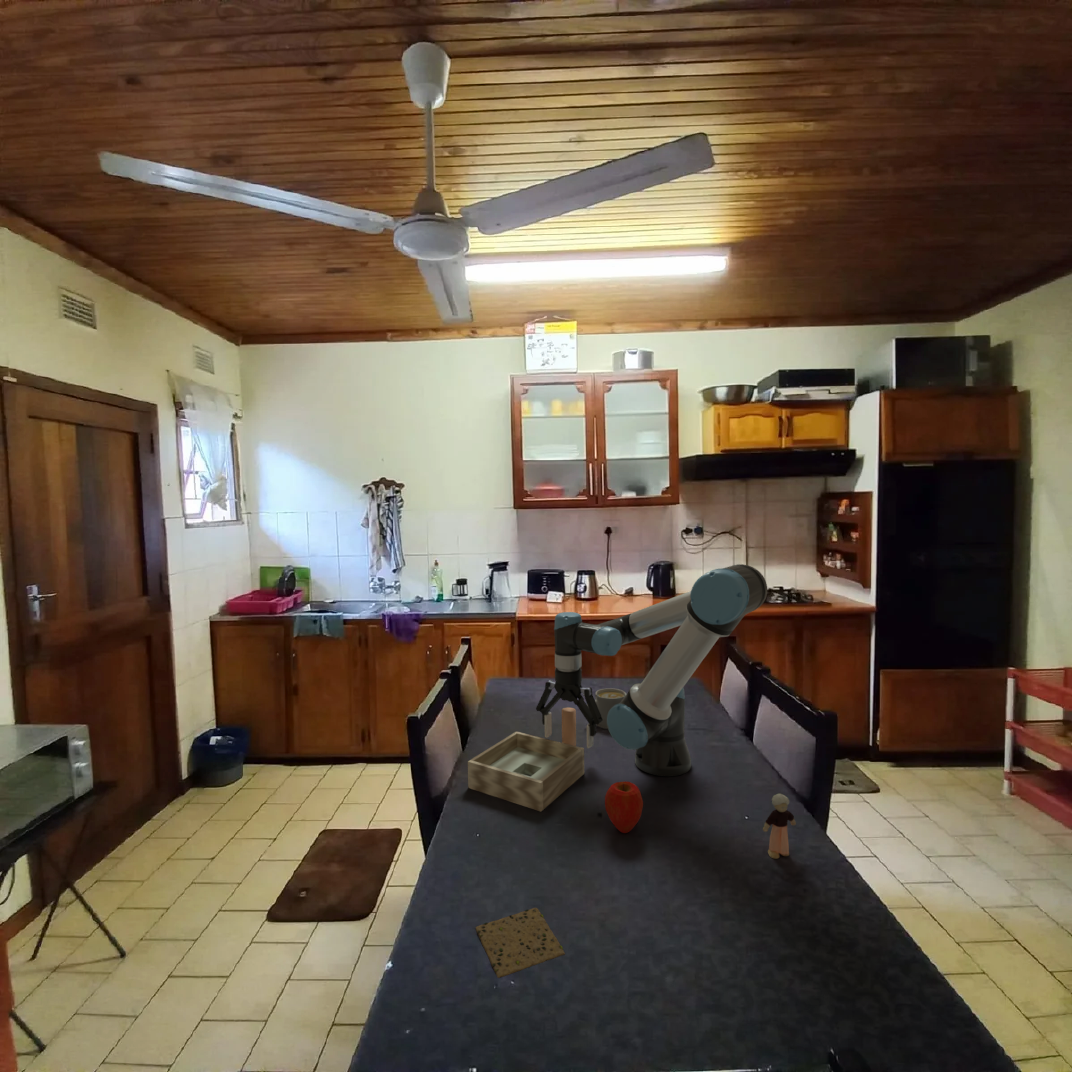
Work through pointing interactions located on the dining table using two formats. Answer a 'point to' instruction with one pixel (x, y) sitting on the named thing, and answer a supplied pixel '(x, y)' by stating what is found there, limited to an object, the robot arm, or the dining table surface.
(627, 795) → the apple
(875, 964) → the dining table surface
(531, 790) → the box
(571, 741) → the peg
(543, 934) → the cookie
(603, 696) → the coffee mug
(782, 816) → the grandmother figurine
